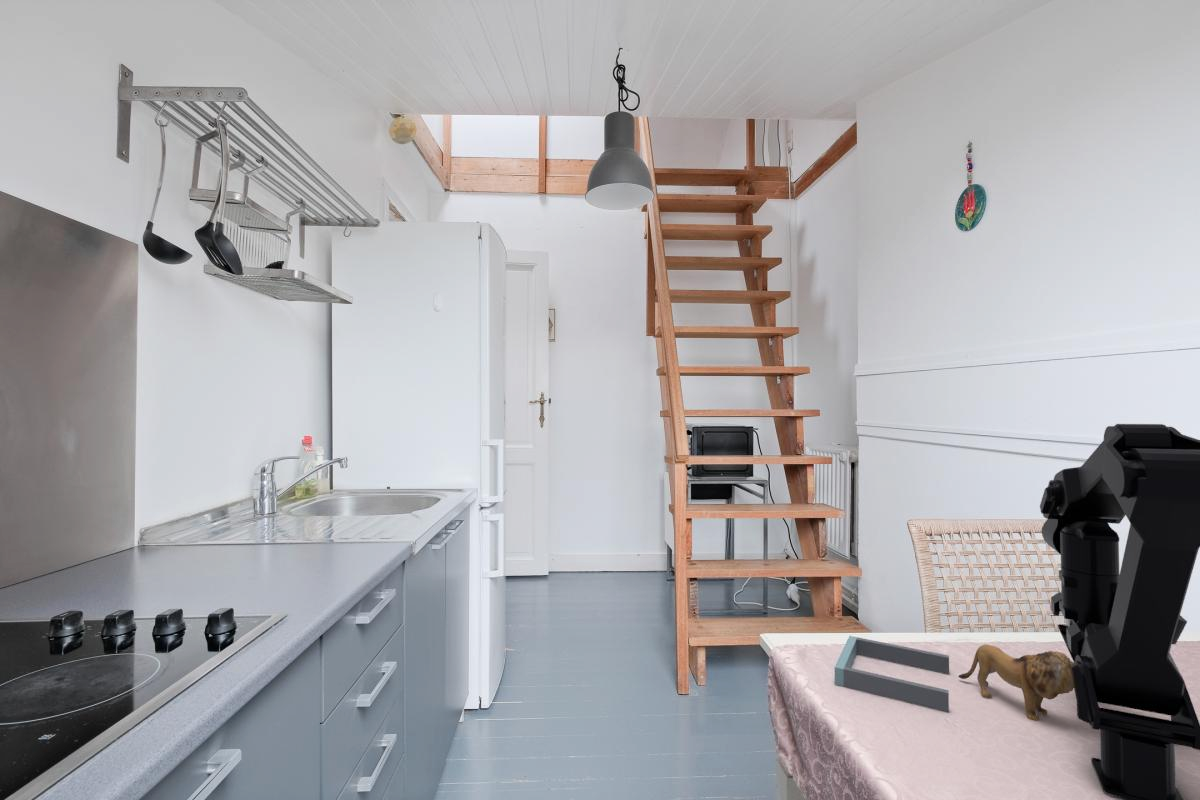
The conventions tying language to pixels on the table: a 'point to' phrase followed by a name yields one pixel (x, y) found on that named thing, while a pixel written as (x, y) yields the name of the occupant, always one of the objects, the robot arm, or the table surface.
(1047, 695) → the lion figurine
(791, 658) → the table surface
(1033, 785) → the table surface
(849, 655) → the chassis bay
